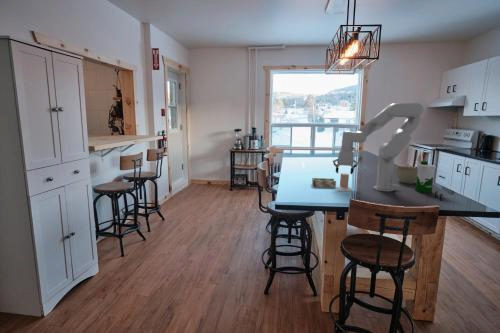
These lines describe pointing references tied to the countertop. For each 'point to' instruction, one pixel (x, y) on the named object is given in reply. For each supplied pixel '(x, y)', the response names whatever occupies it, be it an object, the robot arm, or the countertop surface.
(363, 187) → the countertop surface
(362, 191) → the countertop surface
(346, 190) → the tile pad
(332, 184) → the shelf bay
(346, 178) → the blank block
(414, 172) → the planter bowl
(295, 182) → the countertop surface
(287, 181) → the countertop surface
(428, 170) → the milk carton
